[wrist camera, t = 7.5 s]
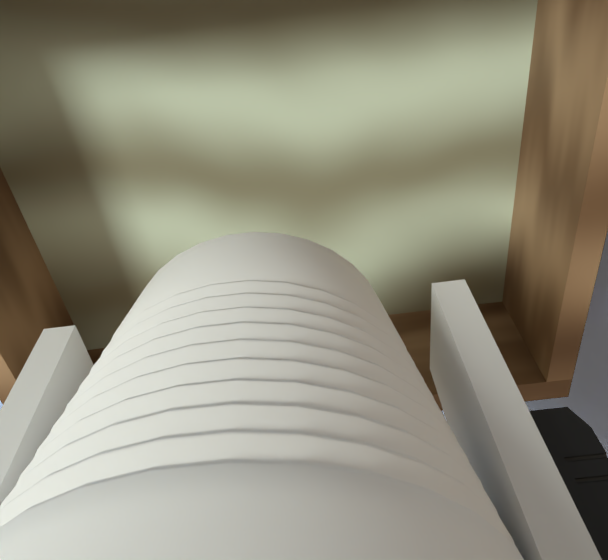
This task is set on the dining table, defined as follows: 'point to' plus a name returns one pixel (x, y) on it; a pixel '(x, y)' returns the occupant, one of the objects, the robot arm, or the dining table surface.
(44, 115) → the crate
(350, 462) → the cup
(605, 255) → the dining table surface
